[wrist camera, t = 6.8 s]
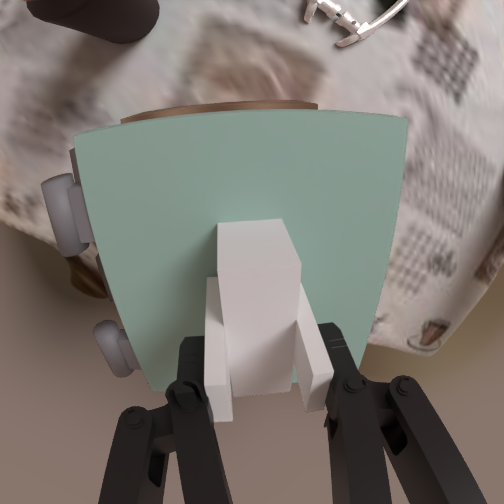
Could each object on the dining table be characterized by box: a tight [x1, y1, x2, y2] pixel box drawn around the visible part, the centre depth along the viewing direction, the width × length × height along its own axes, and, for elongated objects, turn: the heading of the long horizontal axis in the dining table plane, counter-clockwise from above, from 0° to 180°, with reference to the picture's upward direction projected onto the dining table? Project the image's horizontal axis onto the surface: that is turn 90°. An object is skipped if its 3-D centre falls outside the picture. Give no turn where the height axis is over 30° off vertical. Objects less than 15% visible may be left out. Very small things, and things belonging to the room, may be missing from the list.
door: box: [41, 109, 408, 397], centre depth 15 cm, size 18×18×6 cm
